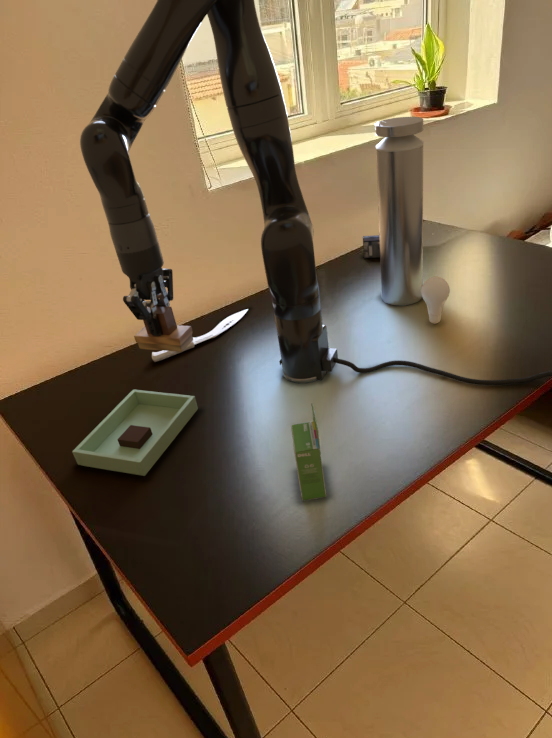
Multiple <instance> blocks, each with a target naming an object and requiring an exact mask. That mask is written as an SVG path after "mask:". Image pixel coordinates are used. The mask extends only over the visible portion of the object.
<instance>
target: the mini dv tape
mask: <svg viewBox="0 0 552 738" xmlns="http://www.w3.org/2000/svg"><path fill="white" fill-rule="evenodd" d="M362 250H363V251H362V252H363V259H374V258H380V240H379V234H376V235H363V236H362Z"/></svg>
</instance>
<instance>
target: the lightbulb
mask: <svg viewBox="0 0 552 738" xmlns="http://www.w3.org/2000/svg"><path fill="white" fill-rule="evenodd" d="M450 293H451V289H450V285H449V283H448V281H447V280H446V279H445V278H443V277H440V276H431V277H429V278H427V279H426V280H425V281H423V285H422V288H421V294H422V299H423V301H424V302H425V305H426V307H427V313H428V321H429V322H430V323H431V324H434V325H437V324H439V323H440V322H441V320H442V314H443V308H444V305H445V302H447V299H448V298H449V296H450Z"/></svg>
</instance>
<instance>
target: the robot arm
mask: <svg viewBox="0 0 552 738" xmlns="http://www.w3.org/2000/svg"><path fill="white" fill-rule="evenodd" d="M206 16H207V19H208V21H209V25H210V28H211V32H212V36H213V41H214V48H215V53H216V60H217V67H218V73H219V78H220V83H221V88H222V93H223V97H224V103H225V106H226V109H227V113H228V117H229V121H230V125H231V128H232V131H233V135H234V138H235V140H236V143H237V145H238V147H239V150H240V152H241V154H242V156H243V158H244V160H245V162H246V164H247V166H248V168H249V170H250V171H251V174H252V176H253V179H254V181H255V184H256V187H257V191H258V195H259V199H260V204H261V210H262V217H263V229H262V232H261V236H260V250H261V256H262V262H263V267H264V272H265V279H266V283H267V287H268V290H269V292H270V297H271V303H272V311H273V316H274V322H275V327H276V335H277V340H278V347H279V348H278V349H279V353H280V354H279V355H280V360H279V361H278V362H279V366H281V367H282V374H283V377H284V378H285V379H286V380H287V381H289V382H292V383H296V384H306V383H312V382H315V381H323V380H324V378H325V377H326V375H327V373H329V372H330V373H331V372H333V370H334V368H335V366H336V365H337V364H339V365H343V366H346V367H348V368H350V369H352V371H354V372H356V373H358V374H367V373H372V372H376V371H379V370H382V369H385V368H388V367H392V366H403V367H404V366H406V367H410V368H415V369H419V370H421V371H425V372H427V373H431V374H434V375H439V376H442V377H445V378H448V379H450V380H451V379H452V380H453V381H454V380H455V381H456V382H457V381H458V382H461V383H465V384H471V385H477V386H478V385H479V386H505V385H506V386H507V385H517V384H525V383H530V382H533V381H536V380H539V379H543V378H546V377H552V370H547V371H543V372H539V373H536V374H533V375H530V376H526V377H519V378H518V377H517V378H507V379H476V378H469V377H464V376H461V375H457V374H455V373H452V372H448V371H445V370H441V369H437V368H434V367H430V366H427V365H423V364H421V363H417V362H414V361H408V360H398V359H397V360H390V361H385V362H382V363H379V364H377V365H373V366H371V367H358V366H357V365H356V364H354V362H351V361H348V360H345V359H342V358H339V355H338V354H339V353H338V348H336V347H330V346H329V338H328V329H327V325H325V324H323V323H324V322H323V313H322V305H321V304H322V303H321V296H320V286H319V285H320V284H319V280H318V275H317V266H316V257H315V248H314V247H315V246H314V233H315V231H314V225H313V222H312V218H311V216H310V213H309V211H308V208H307V204H306V202H305V198H304V196H303V192H302V189H301V186H300V183H299V180H298V176H297V171H296V163H295V155H294V154H295V153H294V147H293V141H292V140H293V139H292V134H291V127H290V123H289V117H288V111H287V107H286V103H285V98H284V94H283V89H282V85H281V82H280V78H279V75H278V72H277V69H276V65H275V63H274V60H273V56H272V54H271V52H270V49H269V46H268V44H267V42H266V39H265V36H264V34H263V31H262V28H261V25H260V22H259V17H258V13H257V9H256V3H255V0H157V1H156V2H155V4H154V6H153V8H152V10H151V12H150V13H149V15H148V16H147V17H146V20H145V21H144V23H143V25H142V26H141V28H140V30H139V31H138V33H137V35H136V36H135V38H134V39H133V41H132V43H131V44H130V46H129V47H128V50H127V51H126V53H125V55H124V57H123V58H122V60H121V62H120V64H119V66H118V68H117V70H116V71H115V73H114V74H113V77H112V79H111V80H110V84H109V85H108V86H109V87H108V91H107V93H106V95H105V97H104V99H103V100H102V102H101V104H100V105H99V107H98V108H97V110H96V111H95V114H94V115H93V116H92V118H91V120H90V121H89V123H88V124H87V125H86V126H84V128H83V130H82V131H81V134H80V137H79V145H80V153H81V155H82V158H83V161H84V164H85V166H86V168H87V172H88V173H89V175H90V178H91V180H92V182H93V184H94V186H95V188H96V190H97V193H98V195H99V197H100V201H101V205H102V208H103V212H104V215H105V218H106V221H107V224H108V229H109V234H110V238H111V241H112V245H113V247H114V250H115V253H116V257H117V258H118V263H119V265H120V269H121V272H122V273H123V274H124V275H125V276H126V277H128V280H129V288H130V291H129V294H128V295H124V296H123V297H122V302H123V303H124V305H125V306H126V307H127V309H129V311H130V312H131V313H132V315H133V316H134V317H135V318H136V320H137V321H139V320H140V321H143V320H146V321H147V325H148V328H149V331H150V333H151V334H152V335H153V336H161V335H162V334H163V332H162V328H161V325H160V322H159V318H158V317H157V310H156V306H164V307H171V306H170V305H171V304H170V302H172V301H174V278H173V276H174V274H173V269H172V268H163V267H164V264H165V260H164V257H163V254H162V250H161V246H160V243H159V239H158V235H157V232H156V229H155V225H154V223H153V220H152V218H151V215H150V212H149V209H148V206H147V203H146V199H145V195H144V192H143V189H142V186H141V184H140V183H139V181H137V180H136V175H135V172H134V168H133V165H132V162H131V158H130V150H131V148H132V146H133V144H134V142H135V141H136V139H137V137H138V135H139V133H140V131H141V129H142V127H143V125H144V123H145V121H146V120H147V119H148V118H149V117H150V115H151V114H152V113H153V111H154V110H155V108H156V107H157V106H158V104H159V102H160V101H161V98H162V96H163V95H164V94H165V92H166V90H167V88H168V87H169V85H170V83H171V81H172V79H173V77H174V75H175V73H176V72H177V69H178V68H179V65H180V63H181V62H182V60H183V57H184V55H185V53H186V51H187V50H188V47H189V45H190V43H191V42H192V39H193V38H194V36H195V34H196V33H197V31H198V29H199V27H200V26H201V24H202V23H203V21H204V19H206ZM166 288H167V289H166ZM147 307H149V308H150V311H151V312H149V311H148V310H147Z"/></svg>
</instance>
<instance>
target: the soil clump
mask: <svg viewBox="0 0 552 738" xmlns="http://www.w3.org/2000/svg"><path fill="white" fill-rule="evenodd" d="M151 435H152V431H151V428H149V427H142V426H134V425H130V426H129V427H128V428H127V429H126V431H125V432H124V433H123V434H122V435H121V436H120V437H119V438H118V439H117V440H118V442H119V445H120V446H123V447H129V448H136V449H140V448H141V447H142V446H143V445H144V444H145V443H146V441H147V440H148V439H149V438H150V437H151Z"/></svg>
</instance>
